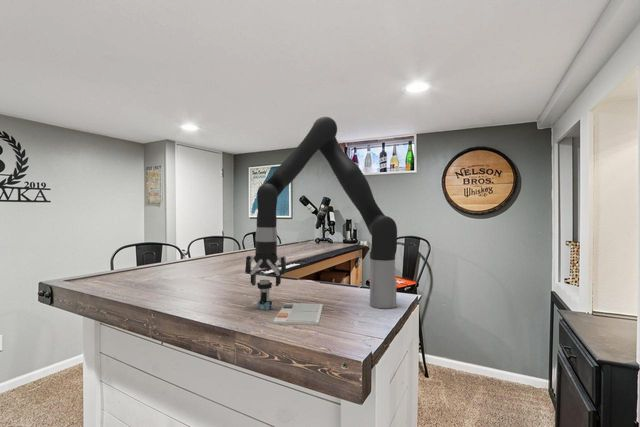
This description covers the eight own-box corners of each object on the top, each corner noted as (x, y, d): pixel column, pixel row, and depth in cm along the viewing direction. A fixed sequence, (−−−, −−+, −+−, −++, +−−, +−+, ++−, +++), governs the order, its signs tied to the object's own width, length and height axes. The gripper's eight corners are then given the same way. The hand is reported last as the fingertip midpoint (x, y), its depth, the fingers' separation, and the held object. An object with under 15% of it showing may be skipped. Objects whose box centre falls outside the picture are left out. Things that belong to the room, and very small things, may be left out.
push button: (278, 307, 111) (278, 280, 111) (270, 312, 106) (270, 283, 107) (262, 305, 114) (262, 278, 114) (253, 309, 109) (254, 281, 109)
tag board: (322, 306, 114) (322, 302, 114) (318, 325, 94) (318, 320, 94) (285, 305, 115) (285, 301, 115) (273, 323, 95) (273, 319, 95)
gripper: (287, 239, 114) (287, 283, 113) (250, 238, 115) (249, 282, 115) (283, 241, 106) (283, 288, 106) (243, 240, 107) (242, 287, 107)
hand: (265, 285), depth 110 cm, fingers open, 8 cm apart
